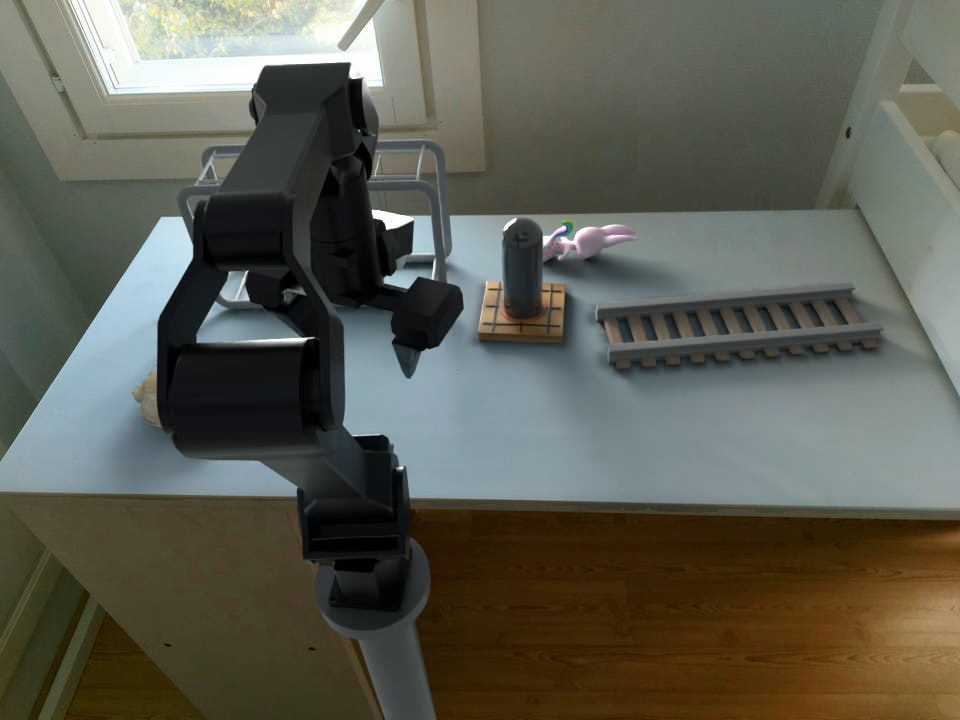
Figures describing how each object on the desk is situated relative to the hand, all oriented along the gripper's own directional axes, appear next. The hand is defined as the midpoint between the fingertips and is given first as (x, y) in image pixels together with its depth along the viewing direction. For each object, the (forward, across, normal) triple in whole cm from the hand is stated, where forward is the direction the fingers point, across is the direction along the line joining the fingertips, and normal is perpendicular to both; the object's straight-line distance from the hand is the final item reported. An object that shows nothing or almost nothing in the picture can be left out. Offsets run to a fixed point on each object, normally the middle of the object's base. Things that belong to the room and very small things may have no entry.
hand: (367, 363), depth 70 cm
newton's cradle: (+12, +19, -22) cm, 32 cm away
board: (+12, -6, -25) cm, 28 cm away
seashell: (+12, +24, +2) cm, 27 cm away
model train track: (+12, -30, -31) cm, 45 cm away
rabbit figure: (+12, -9, -39) cm, 42 cm away
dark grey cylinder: (+11, -6, -25) cm, 28 cm away
